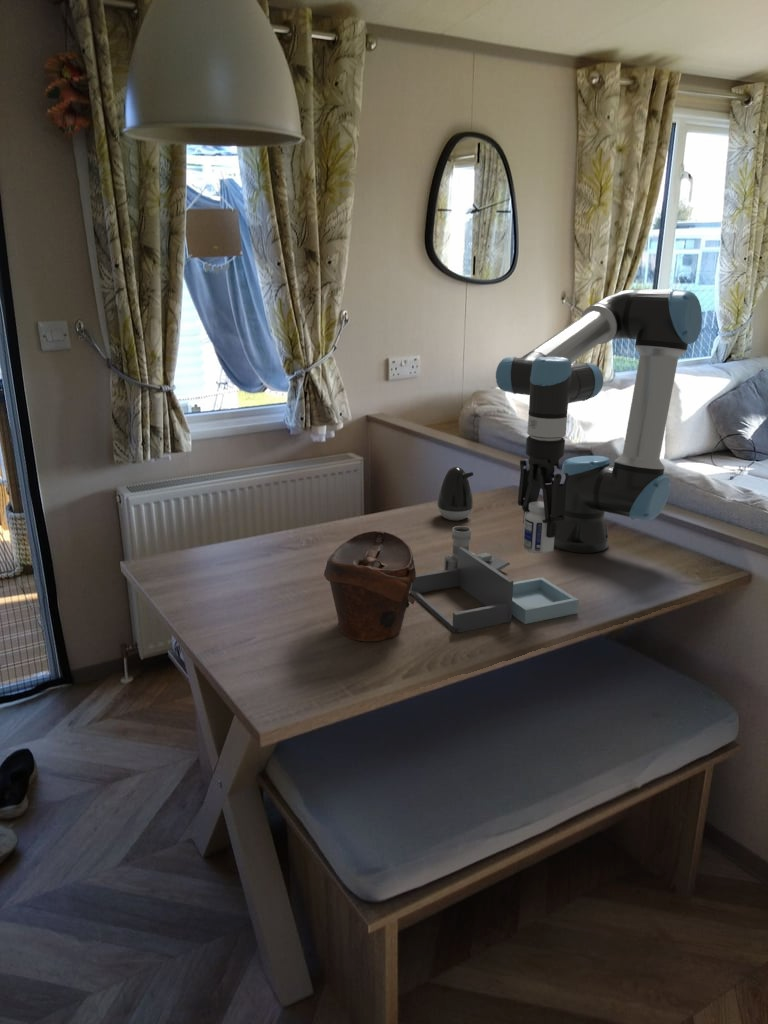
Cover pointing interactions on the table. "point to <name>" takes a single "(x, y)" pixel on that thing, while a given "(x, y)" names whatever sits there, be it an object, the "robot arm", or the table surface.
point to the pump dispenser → (455, 495)
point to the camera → (461, 539)
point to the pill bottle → (534, 527)
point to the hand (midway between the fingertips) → (537, 545)
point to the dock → (470, 592)
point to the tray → (541, 601)
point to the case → (371, 585)
